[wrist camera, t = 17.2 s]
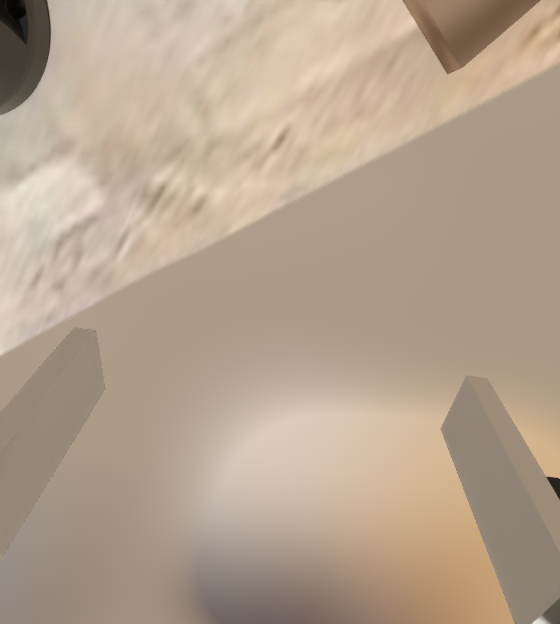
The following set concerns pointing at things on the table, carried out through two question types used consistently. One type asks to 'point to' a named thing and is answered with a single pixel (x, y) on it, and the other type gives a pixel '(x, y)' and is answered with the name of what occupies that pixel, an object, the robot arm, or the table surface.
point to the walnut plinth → (464, 25)
